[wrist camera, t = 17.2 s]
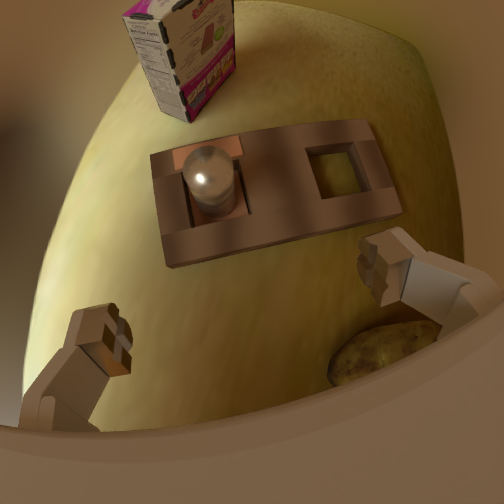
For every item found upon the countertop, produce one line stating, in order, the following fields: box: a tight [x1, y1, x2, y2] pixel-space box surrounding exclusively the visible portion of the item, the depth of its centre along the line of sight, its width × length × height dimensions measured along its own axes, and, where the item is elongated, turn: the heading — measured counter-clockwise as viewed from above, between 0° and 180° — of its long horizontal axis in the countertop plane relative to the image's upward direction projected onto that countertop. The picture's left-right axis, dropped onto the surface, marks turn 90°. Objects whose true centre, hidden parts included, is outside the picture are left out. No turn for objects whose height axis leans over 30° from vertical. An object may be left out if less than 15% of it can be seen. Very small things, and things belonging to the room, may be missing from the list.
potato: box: [327, 320, 442, 387], centre depth 24 cm, size 8×13×8 cm, turn 79°
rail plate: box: [150, 119, 403, 269], centre depth 29 cm, size 25×12×3 cm, turn 103°
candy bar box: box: [122, 0, 236, 123], centre depth 24 cm, size 11×5×16 cm, turn 152°
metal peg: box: [183, 146, 236, 218], centre depth 26 cm, size 4×4×8 cm
